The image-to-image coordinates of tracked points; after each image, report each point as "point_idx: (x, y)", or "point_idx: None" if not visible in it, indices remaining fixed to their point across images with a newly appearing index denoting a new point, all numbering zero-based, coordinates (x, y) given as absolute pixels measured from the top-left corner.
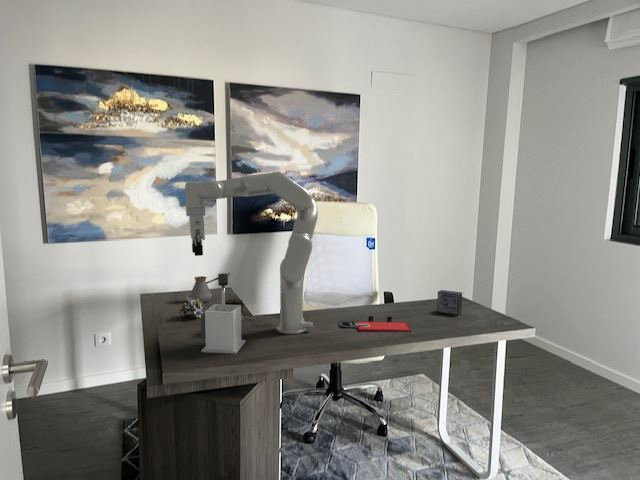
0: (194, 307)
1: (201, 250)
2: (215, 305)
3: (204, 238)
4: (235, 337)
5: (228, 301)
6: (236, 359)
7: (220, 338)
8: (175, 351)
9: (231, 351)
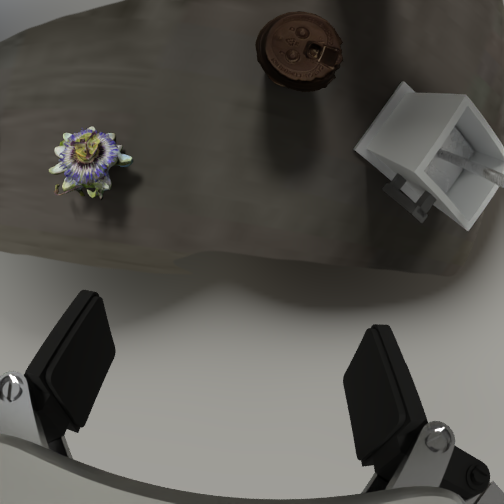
0: (106, 160)
1: (399, 375)
2: (424, 172)
3: (460, 500)
4: None
5: (295, 65)
6: None
7: None
8: (377, 249)
9: None
